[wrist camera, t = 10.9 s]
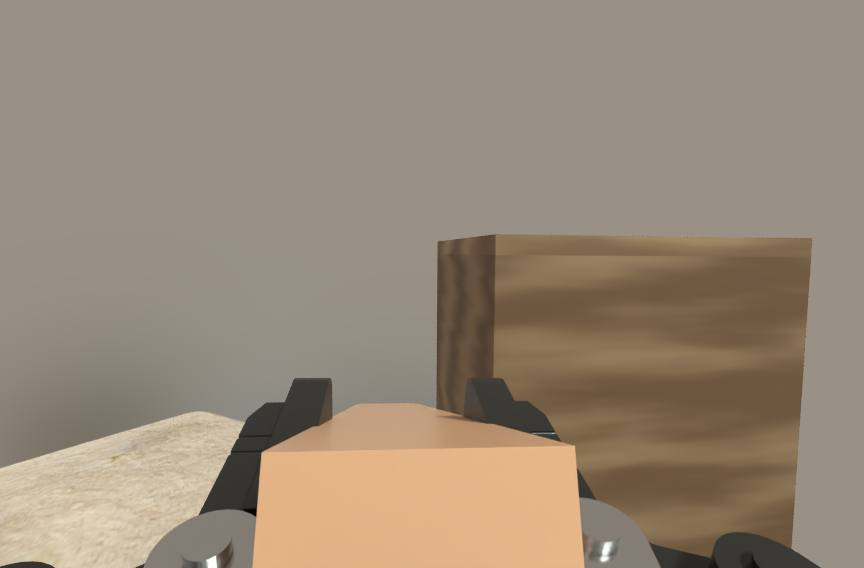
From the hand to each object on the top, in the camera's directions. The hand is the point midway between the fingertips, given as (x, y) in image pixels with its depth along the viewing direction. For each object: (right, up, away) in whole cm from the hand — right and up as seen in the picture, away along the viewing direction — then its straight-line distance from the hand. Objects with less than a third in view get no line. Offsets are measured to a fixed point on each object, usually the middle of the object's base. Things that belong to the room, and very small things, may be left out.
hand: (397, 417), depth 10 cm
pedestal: (+11, -26, +24) cm, 37 cm away
